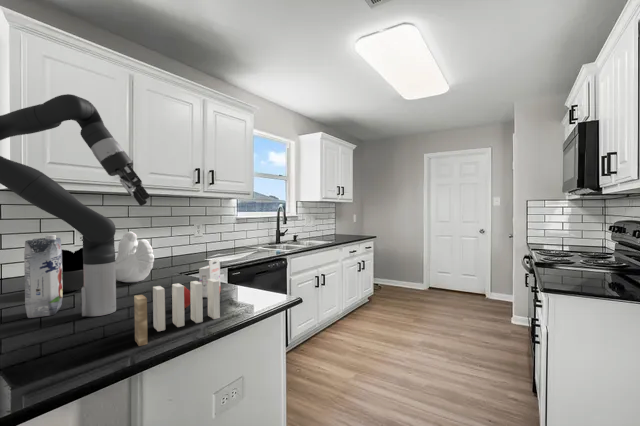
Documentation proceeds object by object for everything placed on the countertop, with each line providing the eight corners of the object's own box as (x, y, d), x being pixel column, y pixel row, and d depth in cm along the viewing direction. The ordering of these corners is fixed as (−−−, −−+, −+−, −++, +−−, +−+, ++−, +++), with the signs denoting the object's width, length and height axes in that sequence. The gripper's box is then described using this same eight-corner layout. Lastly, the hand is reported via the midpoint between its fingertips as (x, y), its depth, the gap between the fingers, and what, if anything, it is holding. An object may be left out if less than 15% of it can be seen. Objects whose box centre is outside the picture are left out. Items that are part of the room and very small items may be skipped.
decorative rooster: (107, 281, 166) (106, 231, 166) (141, 276, 178) (140, 230, 178) (126, 288, 150) (125, 233, 150) (161, 282, 162) (160, 231, 162)
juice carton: (23, 320, 108) (21, 236, 107) (32, 311, 117) (31, 234, 117) (57, 315, 112) (56, 235, 112) (64, 307, 121) (63, 233, 121)
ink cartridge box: (210, 292, 142) (209, 257, 142) (220, 292, 141) (220, 258, 141) (199, 297, 134) (198, 260, 134) (210, 297, 133) (209, 261, 133)
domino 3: (196, 323, 103) (195, 284, 103) (190, 319, 107) (190, 281, 107) (202, 321, 104) (202, 283, 104) (197, 317, 108) (196, 280, 108)
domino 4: (213, 319, 106) (213, 281, 106) (207, 315, 110) (207, 279, 110) (219, 318, 108) (219, 280, 108) (213, 314, 112) (213, 278, 112)
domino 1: (157, 331, 96) (157, 290, 96) (153, 326, 100) (152, 286, 100) (165, 329, 97) (164, 288, 97) (160, 325, 101) (160, 285, 101)
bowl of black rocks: (38, 300, 132) (37, 252, 132) (36, 291, 147) (36, 248, 147) (98, 291, 145) (97, 248, 145) (91, 284, 160) (90, 245, 160)
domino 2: (177, 327, 100) (177, 287, 99) (172, 322, 104) (172, 284, 103) (184, 325, 101) (183, 286, 101) (179, 321, 105) (178, 283, 105)
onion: (178, 306, 121) (178, 284, 121) (194, 305, 122) (194, 284, 122) (173, 311, 116) (172, 288, 115) (190, 310, 116) (189, 287, 116)
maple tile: (138, 346, 86) (138, 299, 86) (134, 340, 90) (134, 295, 90) (147, 344, 87) (146, 298, 87) (143, 338, 91) (142, 294, 91)
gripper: (100, 169, 104) (132, 212, 107) (99, 154, 93) (135, 203, 95) (123, 158, 108) (154, 200, 111) (125, 143, 97) (159, 190, 99)
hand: (145, 201), depth 103 cm, fingers open, 8 cm apart
